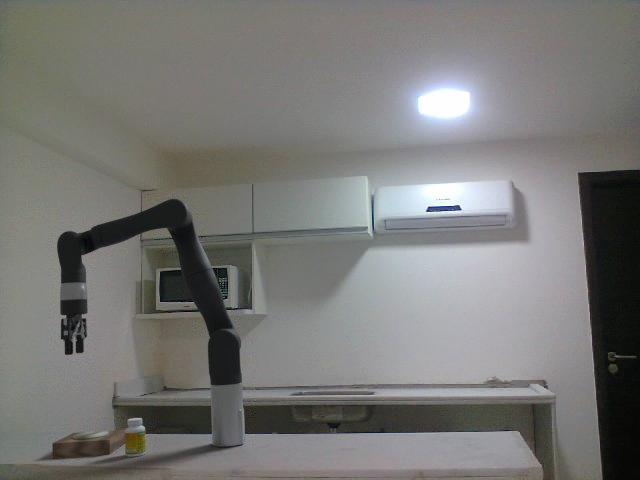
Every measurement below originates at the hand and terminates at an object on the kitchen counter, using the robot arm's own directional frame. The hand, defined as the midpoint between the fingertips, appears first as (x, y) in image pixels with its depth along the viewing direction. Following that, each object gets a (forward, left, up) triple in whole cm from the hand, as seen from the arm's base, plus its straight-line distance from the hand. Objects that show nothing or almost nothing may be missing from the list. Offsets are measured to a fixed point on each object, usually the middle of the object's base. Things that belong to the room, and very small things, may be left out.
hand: (74, 353), depth 179 cm
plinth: (-3, -4, -29) cm, 29 cm away
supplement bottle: (-19, +7, -29) cm, 35 cm away
